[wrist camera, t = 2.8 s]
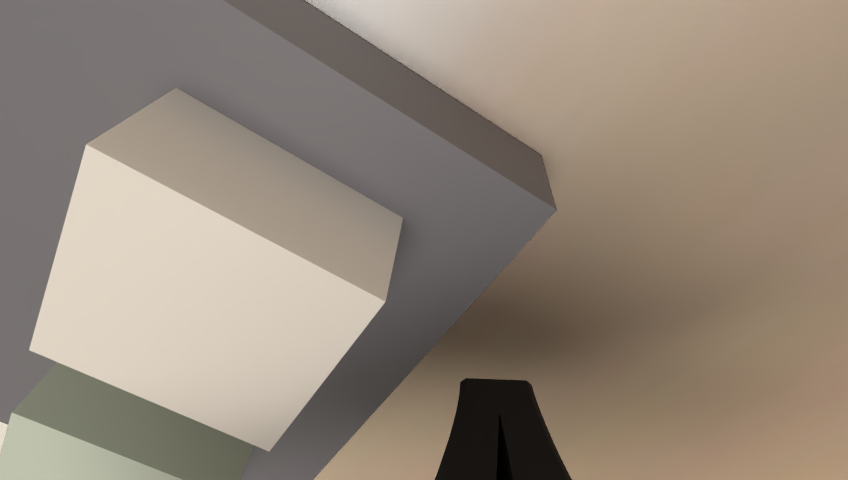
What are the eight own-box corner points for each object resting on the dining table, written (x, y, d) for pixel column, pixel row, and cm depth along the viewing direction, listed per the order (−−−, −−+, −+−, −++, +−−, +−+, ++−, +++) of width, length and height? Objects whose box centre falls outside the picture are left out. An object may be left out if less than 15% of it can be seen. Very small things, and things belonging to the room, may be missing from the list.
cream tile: (402, 218, 10) (385, 302, 8) (303, 356, 12) (269, 451, 10) (175, 87, 9) (85, 144, 7) (111, 265, 11) (28, 349, 9)
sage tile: (270, 403, 13) (232, 498, 11) (210, 487, 15) (169, 580, 13) (90, 324, 12) (11, 412, 10) (54, 426, 14) (-17, 516, 12)
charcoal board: (541, 154, 12) (556, 210, 10) (293, 455, 18) (271, 526, 16) (97, -135, 9) (-10, -147, 7) (-4, 328, 16) (-76, 392, 14)
